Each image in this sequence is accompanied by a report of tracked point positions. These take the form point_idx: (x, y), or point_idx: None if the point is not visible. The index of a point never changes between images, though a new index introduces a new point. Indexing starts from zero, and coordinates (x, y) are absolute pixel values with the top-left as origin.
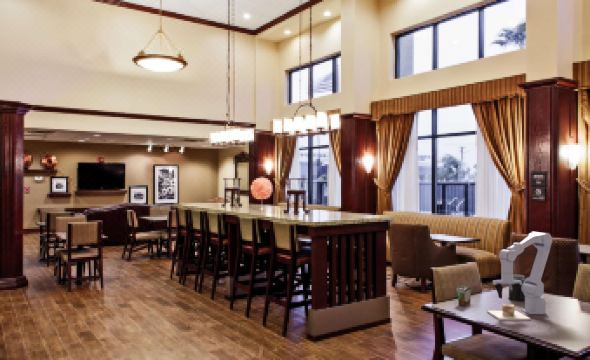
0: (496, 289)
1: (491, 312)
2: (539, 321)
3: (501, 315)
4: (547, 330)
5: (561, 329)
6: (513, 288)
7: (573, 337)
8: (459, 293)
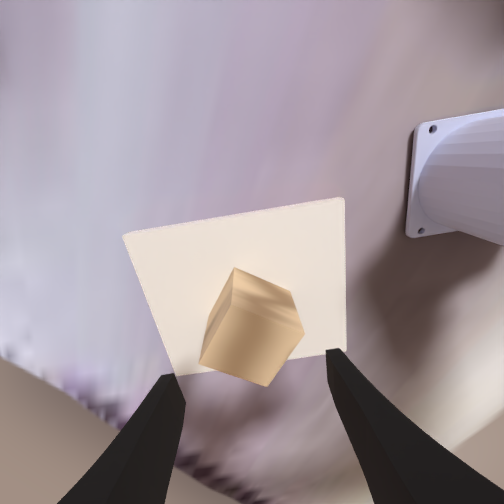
0: (76, 490)
1: (148, 275)
2: (380, 348)
3: (199, 325)
4: (340, 439)
5: None
6: (391, 496)
7: None
8: None
